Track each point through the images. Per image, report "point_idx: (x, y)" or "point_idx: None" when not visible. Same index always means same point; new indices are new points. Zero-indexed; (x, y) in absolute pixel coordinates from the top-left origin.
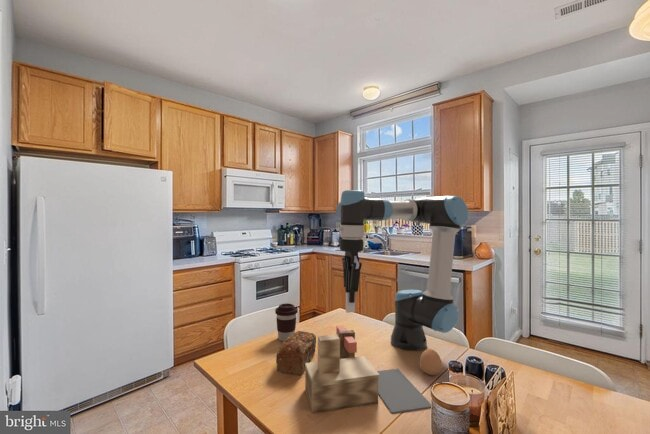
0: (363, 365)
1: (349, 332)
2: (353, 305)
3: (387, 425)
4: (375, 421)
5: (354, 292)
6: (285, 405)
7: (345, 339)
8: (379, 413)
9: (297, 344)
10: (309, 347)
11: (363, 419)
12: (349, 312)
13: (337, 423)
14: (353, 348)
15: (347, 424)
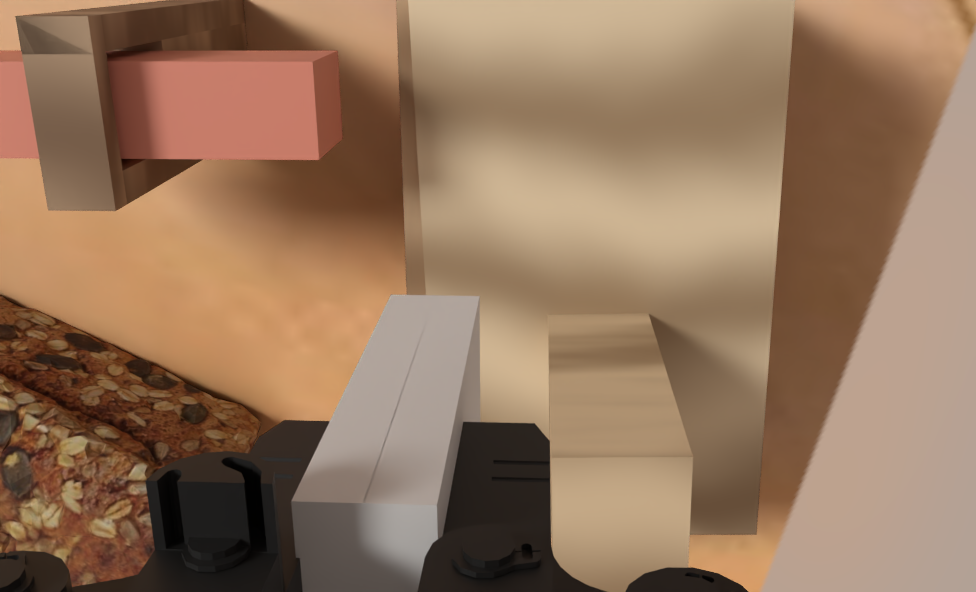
0: (592, 66)
1: (92, 91)
2: (468, 378)
3: (954, 6)
4: (890, 71)
5: (571, 586)
6: None
7: (191, 156)
8: (825, 9)
9: (106, 548)
10: (51, 403)
11: (844, 142)
12: (479, 396)
13: (824, 308)
14: (331, 93)
15: (853, 254)
